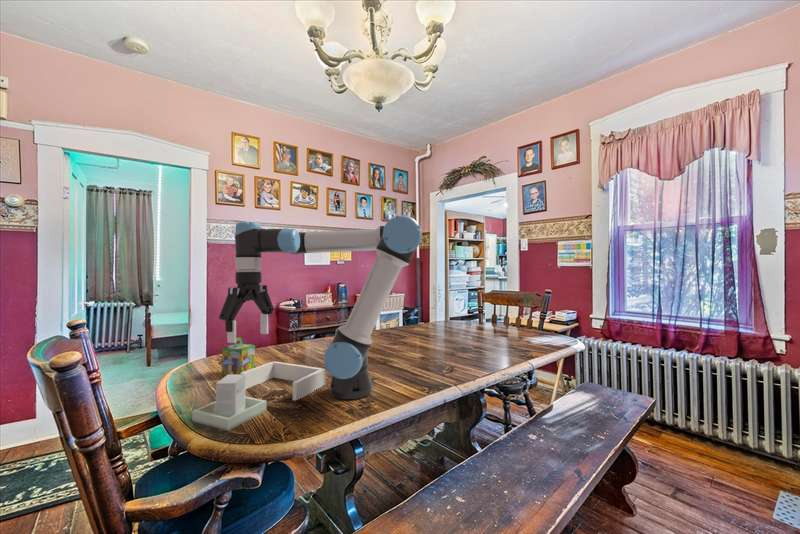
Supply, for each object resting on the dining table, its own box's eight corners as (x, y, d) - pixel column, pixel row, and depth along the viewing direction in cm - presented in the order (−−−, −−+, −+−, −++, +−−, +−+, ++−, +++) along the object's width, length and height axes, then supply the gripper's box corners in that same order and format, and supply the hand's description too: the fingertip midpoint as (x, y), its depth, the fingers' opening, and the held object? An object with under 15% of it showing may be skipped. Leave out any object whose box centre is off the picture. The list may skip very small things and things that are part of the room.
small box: (227, 408, 103) (227, 374, 103) (245, 407, 103) (246, 373, 103) (214, 420, 95) (215, 383, 95) (234, 419, 95) (235, 383, 95)
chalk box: (241, 378, 131) (241, 341, 131) (221, 376, 133) (221, 339, 133) (255, 371, 140) (256, 336, 140) (236, 369, 142) (237, 335, 142)
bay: (325, 384, 126) (325, 368, 126) (296, 400, 110) (296, 382, 110) (273, 375, 135) (273, 361, 135) (240, 389, 120) (240, 372, 120)
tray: (266, 410, 103) (266, 400, 103) (227, 431, 90) (228, 419, 90) (233, 402, 108) (233, 393, 108) (192, 421, 95) (192, 410, 95)
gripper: (266, 270, 119) (267, 329, 119) (204, 271, 95) (205, 345, 95) (284, 270, 116) (284, 331, 116) (224, 271, 93) (225, 347, 93)
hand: (249, 337), depth 106 cm, fingers open, 13 cm apart
